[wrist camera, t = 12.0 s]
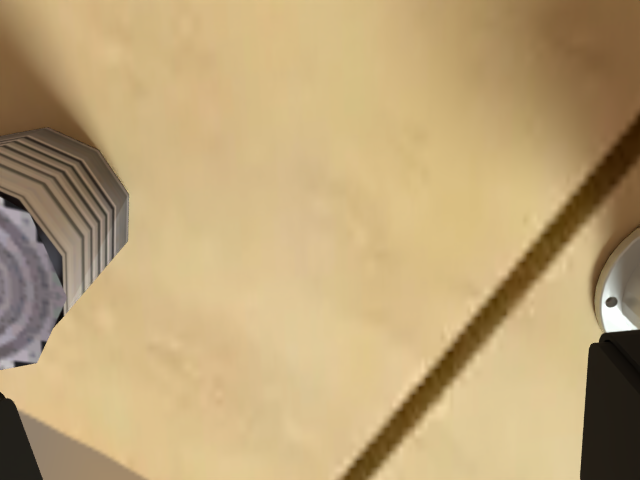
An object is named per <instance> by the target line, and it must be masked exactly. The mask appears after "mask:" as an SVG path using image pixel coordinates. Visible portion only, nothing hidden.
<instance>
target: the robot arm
mask: <svg viewBox="0 0 640 480" xmlns="http://www.w3.org/2000/svg"><path fill="white" fill-rule="evenodd" d="M594 302H595V313H596V317H597V320H598V323H599V326H600V329H601V330H602V332H603V333H604V334H602V335H601V337H600V339H599V343H593V344H591V345H590V348H589V354H588V368H587V383H586V398H585V412H584V427H583V441H582V456H581V470H580V480H640V227H639V228H638V229H636V230H635V231H633V232H632V233H631V234H630V235H629V236H628V237H627V238H626V239H624V240H623V241H622V242H621V243H620V244H619V246H618V247H617V248H616V249H615V250H614V252H613V253H612V254H611V255H610V257H609V258H608V260H607V262H606V264H605V266H604V267H603V269H602V271H601V274H600V277H599V280H598V283H597V286H596V292H595V300H594ZM0 480H43V478H42V476H41V473H40V470H39V468H38V465H37V462H36V459H35V457H34V454H33V451H32V449H31V446H30V443H29V441H28V438H27V435H26V432H25V430H24V427H23V424H22V422H21V419H20V416H19V414H18V411H17V408H16V406H15V404H14V402H13V401H12V400H11V399H8V398H5V396H4V395H3V394H2V393H1V392H0Z"/></svg>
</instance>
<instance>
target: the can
mask: <svg viewBox="0 0 640 480" xmlns="http://www.w3.org/2000/svg"><path fill="white" fill-rule="evenodd" d="M128 216H129V194H128V192H127V191H126V189H125V188H124V186H123V185H122V183H121V182H120V180H119V179H118V177H117V176H116V175H115V173H114V172H113V170H112V169H111V167H110V166H109V164H108V163H107V161H106V160H105V158H104V157H103V155H102V154H101V153H100V151H99V150H97V149H95V148H93V147H91V146H89V145H86V144H84V143H82V142H80V141H77V140H75V139H73V138H71V137H69V136H66V135H64V134H62V133H60V132H57V131H55V130H53V129H51V128H49V127H47V128H42V129H36V130H31V131H25V132H20V133H14V134H9V135H4V136H0V370H3V369H8V368H13V367H19V366H24V365H29V364H34V363H37V361H38V359H39V357H40V355H41V353H42V351H43V349H44V346H45V344H46V342H47V340H48V338H49V336H50V334H51V331H52V329H53V328H54V327H55V325H56V324H57V323H58V322H59V321H60V320H61V319H62V318H63V317H64V316H65V314H66V313H67V312H68V311H69V310H70V308H71V307H72V306H73V305H74V304H75V303H76V301H77V300H78V299H79V298H80V297H81V296H82V294H83V293H84V292H85V291H86V290H87V288H88V287H89V286H90V285H91V284H92V283H93V281H94V280H95V279H96V278H97V277H98V276H99V274H100V273H101V272H102V271H103V270H104V268H105V267H106V266H107V265H108V264H109V263H110V261H111V260H112V259H113V258H114V257H115V256H116V254H117V253H118V252H119V251H120V250H121V248H122V247H123V246H124V245H125V244H126V243H127V241H128Z"/></svg>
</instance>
